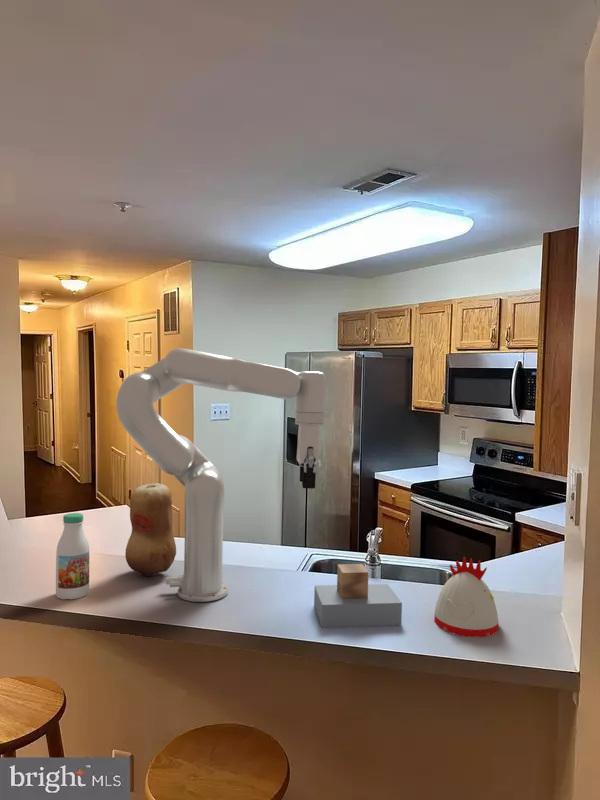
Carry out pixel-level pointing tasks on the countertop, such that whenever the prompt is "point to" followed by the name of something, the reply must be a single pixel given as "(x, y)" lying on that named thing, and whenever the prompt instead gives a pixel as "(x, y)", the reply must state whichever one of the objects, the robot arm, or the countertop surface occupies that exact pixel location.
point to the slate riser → (357, 607)
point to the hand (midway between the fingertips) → (307, 484)
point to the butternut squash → (151, 530)
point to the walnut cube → (352, 581)
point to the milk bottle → (72, 559)
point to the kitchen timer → (466, 603)
